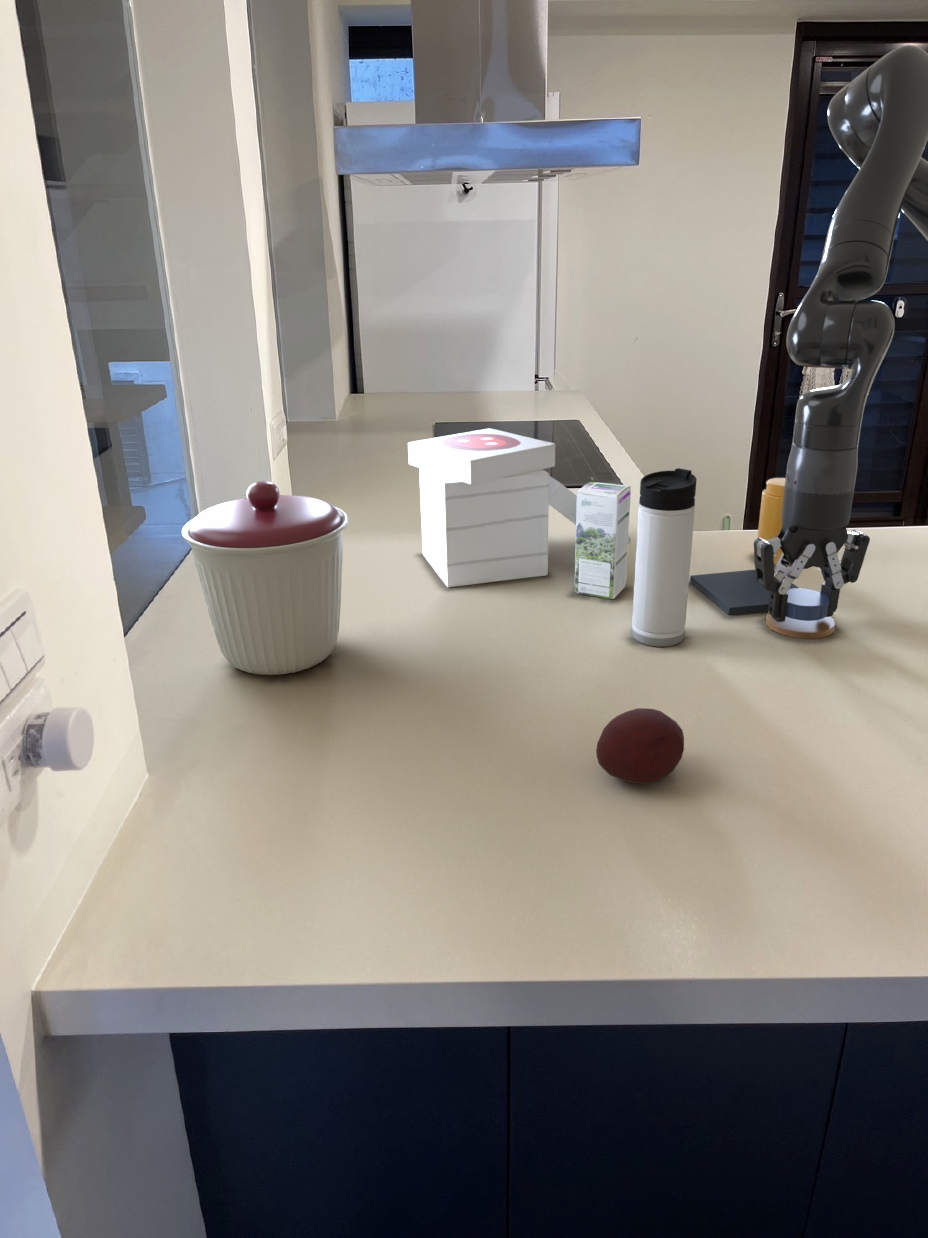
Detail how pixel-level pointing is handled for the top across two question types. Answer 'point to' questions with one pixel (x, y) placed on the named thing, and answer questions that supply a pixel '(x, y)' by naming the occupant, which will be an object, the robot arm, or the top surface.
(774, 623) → the coaster
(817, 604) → the jar lid
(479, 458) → the pizza boxes
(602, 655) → the top surface
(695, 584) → the mat
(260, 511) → the canister
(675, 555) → the travel mug
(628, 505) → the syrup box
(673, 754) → the potato
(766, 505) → the jar
